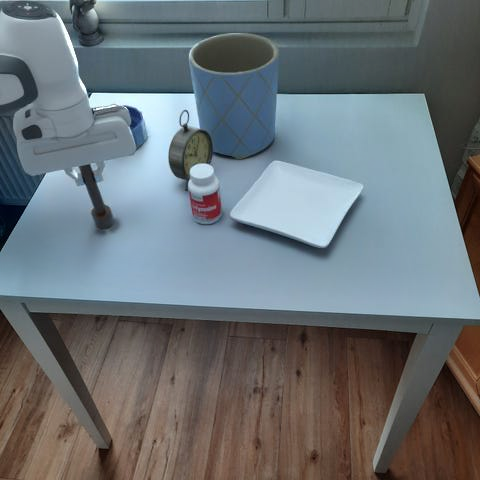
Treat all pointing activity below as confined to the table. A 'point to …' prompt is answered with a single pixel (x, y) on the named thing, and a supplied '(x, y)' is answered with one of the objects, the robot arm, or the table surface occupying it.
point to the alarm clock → (189, 150)
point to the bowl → (137, 125)
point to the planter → (236, 91)
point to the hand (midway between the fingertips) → (90, 182)
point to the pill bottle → (204, 194)
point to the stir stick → (96, 199)
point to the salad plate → (297, 203)
